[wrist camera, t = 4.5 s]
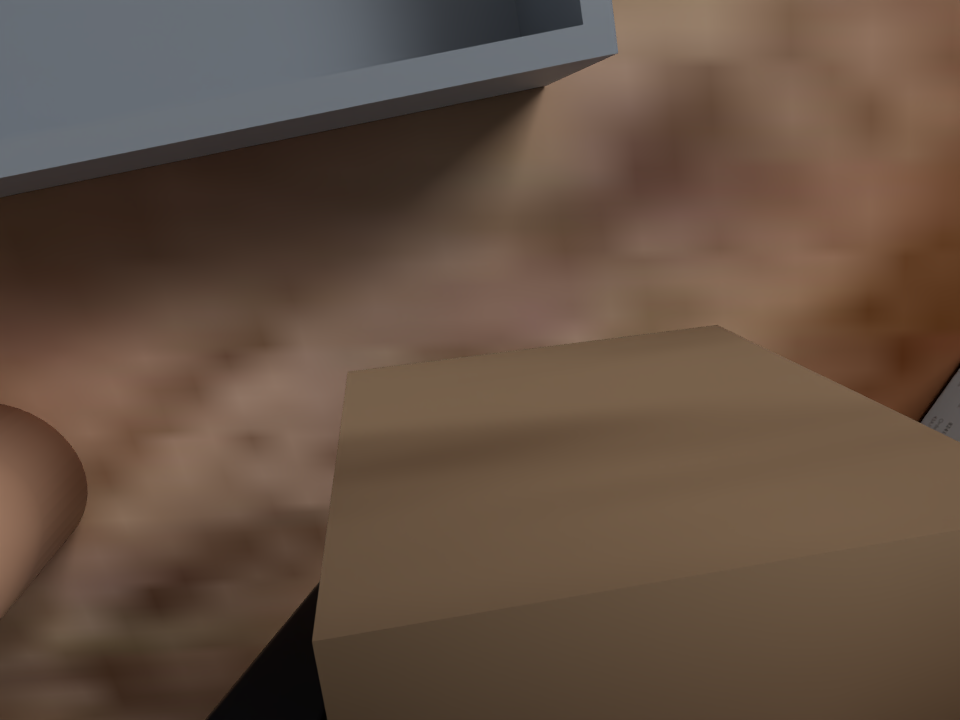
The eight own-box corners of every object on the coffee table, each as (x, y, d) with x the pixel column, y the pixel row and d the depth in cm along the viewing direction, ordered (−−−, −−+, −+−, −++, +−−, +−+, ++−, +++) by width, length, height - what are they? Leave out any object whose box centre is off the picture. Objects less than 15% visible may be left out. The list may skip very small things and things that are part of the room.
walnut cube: (710, 628, 11) (982, 1011, 6) (395, 685, 10) (413, 1162, 5) (717, 324, 9) (1095, 506, 4) (347, 371, 8) (310, 641, 4)
